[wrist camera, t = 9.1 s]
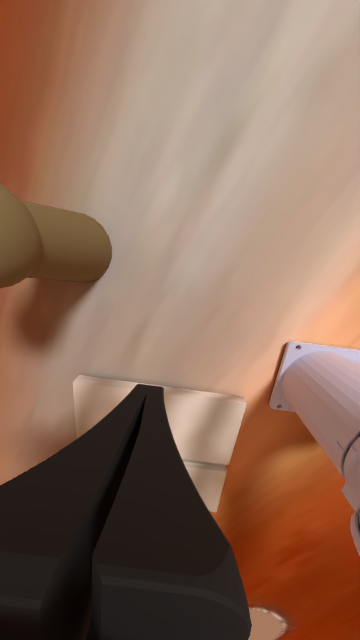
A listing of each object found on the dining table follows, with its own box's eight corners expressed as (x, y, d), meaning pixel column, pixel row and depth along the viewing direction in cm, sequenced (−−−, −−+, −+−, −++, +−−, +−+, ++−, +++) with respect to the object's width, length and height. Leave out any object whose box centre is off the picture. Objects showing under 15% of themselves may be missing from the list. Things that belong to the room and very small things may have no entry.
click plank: (243, 396, 21) (246, 404, 20) (226, 454, 24) (228, 464, 23) (78, 375, 21) (72, 382, 20) (81, 435, 24) (76, 444, 23)
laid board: (225, 458, 24) (228, 468, 23) (215, 501, 26) (216, 512, 25) (81, 439, 24) (76, 448, 23) (82, 484, 26) (77, 494, 25)
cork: (125, 254, 18) (38, 240, 7) (80, 294, 19) (-51, 332, 9) (78, 196, 17) (-105, 82, 6) (33, 243, 18) (-186, 212, 7)
